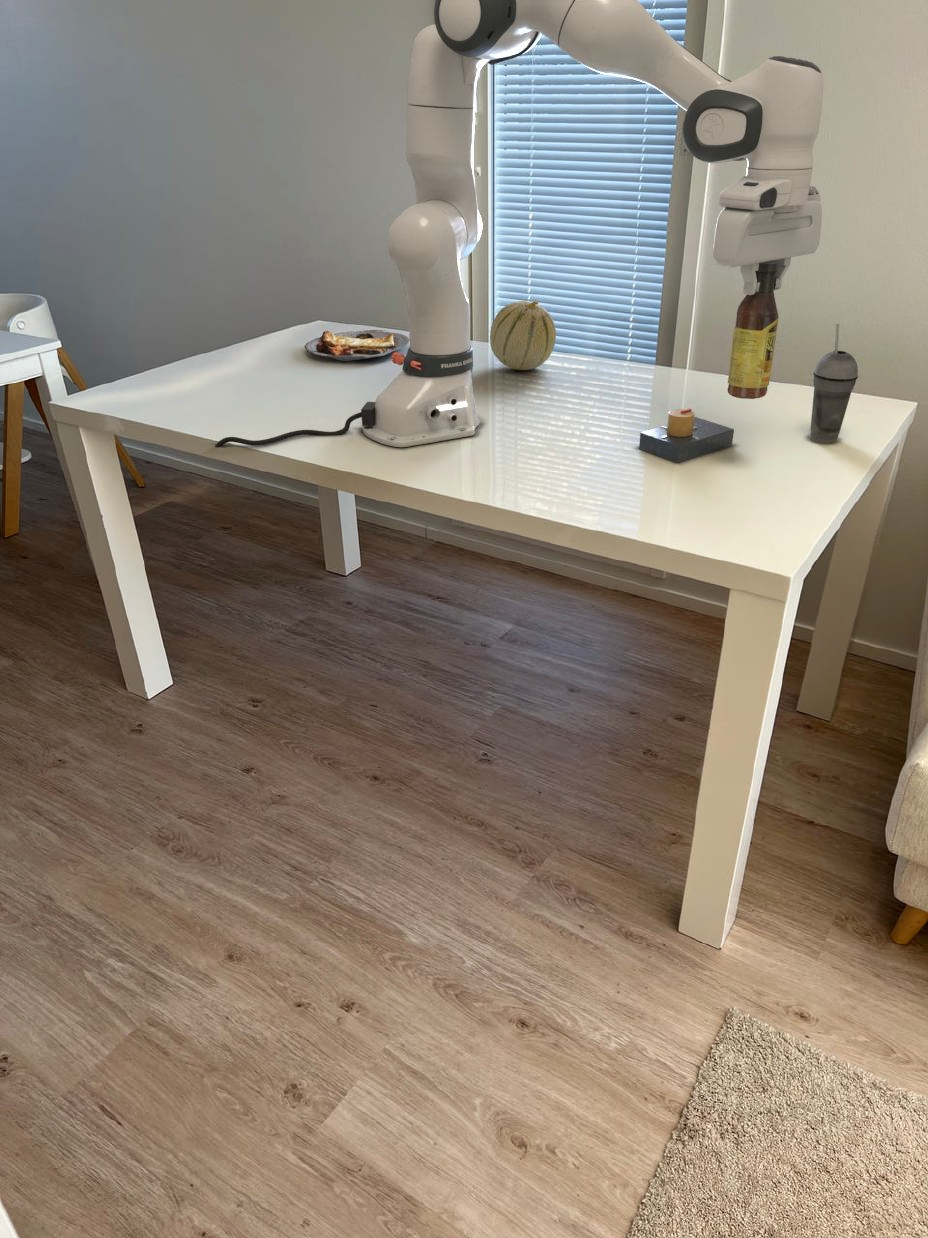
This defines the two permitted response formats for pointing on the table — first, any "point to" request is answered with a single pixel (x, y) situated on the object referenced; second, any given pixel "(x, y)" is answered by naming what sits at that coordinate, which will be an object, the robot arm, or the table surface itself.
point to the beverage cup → (832, 393)
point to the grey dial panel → (686, 441)
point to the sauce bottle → (754, 338)
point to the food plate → (356, 344)
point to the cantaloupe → (523, 335)
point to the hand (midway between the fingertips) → (761, 291)
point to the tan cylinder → (680, 422)
